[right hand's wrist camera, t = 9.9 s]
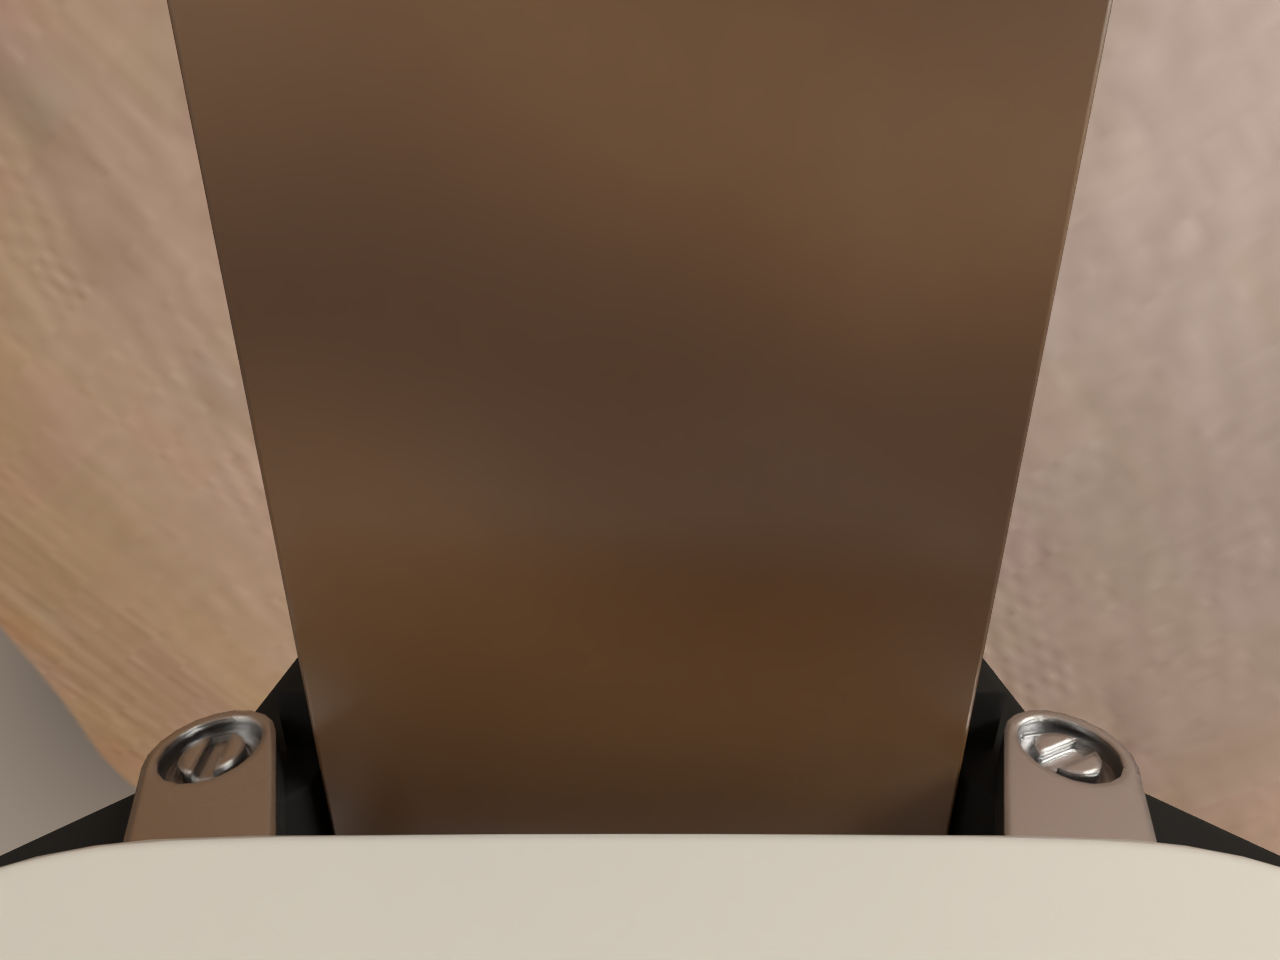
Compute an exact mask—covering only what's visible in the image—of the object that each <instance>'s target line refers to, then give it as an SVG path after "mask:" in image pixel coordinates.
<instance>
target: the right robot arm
mask: <svg viewBox="0 0 1280 960" xmlns="http://www.w3.org/2000/svg"><path fill="white" fill-rule="evenodd" d="M0 960H1280V856H1279V855H1277V854H1275V853H1272V852H1270V851H1268V850H1266V849H1264V848H1262V847H1259V846H1257V845H1255V844H1253V843H1251V842H1249V841H1247V840H1244V839H1242V838H1240V837H1238V836H1236V835H1234V834H1231V833H1229V832H1227V831H1225V830H1223V829H1221V828H1218V827H1216V826H1214V825H1212V824H1210V823H1208V822H1205V821H1203V820H1201V819H1199V818H1197V817H1195V816H1193V815H1190V814H1188V813H1186V812H1184V811H1182V810H1180V809H1177V808H1175V807H1173V806H1171V805H1169V804H1167V803H1164V802H1162V801H1160V800H1158V799H1156V798H1154V797H1152V796H1149V795H1147V794H1145V792H1144V788H1143V784H1142V780H1141V776H1140V772H1139V768H1138V766H1137V764H1136V762H1135V760H1134V758H1133V756H1132V754H1131V753H1130V752H1129V751H1128V750H1127V749H1126V748H1125V747H1124V746H1123V745H1122V744H1121V743H1120V742H1119V741H1118V740H1116V739H1115V738H1114V737H1112V736H1111V735H1109V734H1108V733H1107V732H1105V731H1104V730H1102V729H1100V728H1098V727H1096V726H1094V725H1092V724H1090V723H1088V722H1086V721H1084V720H1081V719H1078V718H1075V717H1072V716H1069V715H1066V714H1062V713H1057V712H1051V711H1026V712H1025V711H1024V710H1023V709H1022V707H1021V706H1020V705H1019V703H1018V702H1017V701H1016V700H1015V698H1014V697H1013V696H1012V695H1011V693H1010V692H1009V691H1008V689H1007V688H1006V687H1005V686H1004V684H1003V683H1002V682H1001V680H1000V679H999V678H998V677H997V675H996V674H995V673H994V671H993V670H992V669H991V668H990V666H989V665H988V664H987V663H986V661H985V660H984V659H983V658H982V663H981V669H980V674H979V679H978V684H977V689H976V694H975V699H974V704H973V709H972V714H971V719H970V724H969V729H968V734H967V739H966V744H965V749H964V754H963V759H962V765H961V770H960V775H959V780H958V785H957V790H956V795H955V800H954V805H953V810H952V815H951V820H950V825H949V830H948V835H836V834H445V835H333V830H332V825H331V820H330V815H329V810H328V805H327V800H326V795H325V790H324V785H323V780H322V775H321V770H320V765H319V760H318V755H317V750H316V745H315V740H314V735H313V730H312V725H311V720H310V715H309V710H308V704H307V699H306V694H305V689H304V684H303V679H302V674H301V669H300V664H299V659H298V658H297V659H296V660H295V662H294V663H293V664H292V666H291V667H290V668H289V669H288V671H287V672H286V673H285V674H284V676H283V677H282V678H281V680H280V681H279V682H278V683H277V685H276V686H275V687H274V689H273V690H272V691H271V692H270V694H269V695H268V696H267V697H266V699H265V700H264V701H263V703H262V704H261V705H260V706H259V708H258V709H257V710H256V712H254V711H229V712H223V713H218V714H214V715H211V716H208V717H205V718H202V719H199V720H196V721H194V722H192V723H190V724H188V725H186V726H184V727H182V728H180V729H178V730H176V731H175V732H173V733H172V734H171V735H169V736H168V737H166V738H165V739H164V740H162V741H161V742H160V743H159V744H158V745H157V746H156V747H155V748H154V749H153V750H152V751H151V752H150V753H149V754H148V756H147V758H146V760H145V762H144V764H143V766H142V768H141V772H140V776H139V780H138V784H137V788H136V792H135V794H133V795H131V796H129V797H127V798H125V799H122V800H120V801H118V802H116V803H114V804H111V805H109V806H107V807H105V808H103V809H101V810H99V811H96V812H94V813H92V814H90V815H88V816H86V817H83V818H81V819H79V820H77V821H75V822H73V823H70V824H68V825H66V826H64V827H62V828H60V829H57V830H55V831H53V832H51V833H49V834H47V835H45V836H42V837H40V838H38V839H36V840H34V841H32V842H29V843H27V844H25V845H23V846H21V847H19V848H17V849H14V850H12V851H10V852H8V853H6V854H3V855H1V856H0Z"/></svg>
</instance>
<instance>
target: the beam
mask: <svg viewBox="0 0 1280 960" xmlns="http://www.w3.org/2000/svg"><path fill="white" fill-rule="evenodd" d="M1112 2H1113V0H167V4H168V9H169V14H170V19H171V24H172V29H173V34H174V39H175V44H176V49H177V54H178V59H179V64H180V69H181V74H182V79H183V84H184V89H185V94H186V99H187V104H188V109H189V114H190V119H191V124H192V129H193V134H194V139H195V144H196V149H197V154H198V159H199V164H200V169H201V174H202V179H203V184H204V189H205V194H206V199H207V204H208V209H209V214H210V219H211V224H212V229H213V234H214V239H215V244H216V249H217V254H218V259H219V264H220V269H221V274H222V279H223V284H224V289H225V294H226V299H227V304H228V309H229V314H230V319H231V324H232V329H233V334H234V339H235V344H236V349H237V354H238V359H239V364H240V369H241V374H242V379H243V384H244V389H245V394H246V399H247V404H248V409H249V414H250V419H251V424H252V429H253V434H254V439H255V444H256V449H257V454H258V459H259V464H260V469H261V474H262V479H263V484H264V489H265V494H266V499H267V504H268V509H269V514H270V519H271V524H272V529H273V534H274V539H275V544H276V549H277V554H278V559H279V564H280V569H281V574H282V579H283V584H284V589H285V594H286V599H287V604H288V609H289V614H290V619H291V624H292V629H293V634H294V639H295V644H296V649H297V654H298V659H299V664H300V669H301V674H302V679H303V684H304V689H305V694H306V699H307V704H308V710H309V715H310V720H311V725H312V730H313V735H314V740H315V745H316V750H317V755H318V760H319V765H320V770H321V775H322V780H323V785H324V790H325V795H326V800H327V805H328V810H329V815H330V820H331V825H332V830H333V835H445V834H836V835H948V830H949V825H950V820H951V815H952V810H953V805H954V800H955V795H956V790H957V785H958V780H959V775H960V770H961V765H962V759H963V754H964V749H965V744H966V739H967V734H968V729H969V724H970V719H971V714H972V709H973V704H974V699H975V694H976V689H977V684H978V679H979V674H980V669H981V663H982V658H983V653H984V648H985V643H986V638H987V633H988V628H989V623H990V618H991V613H992V608H993V603H994V598H995V593H996V588H997V583H998V578H999V573H1000V567H1001V562H1002V557H1003V552H1004V547H1005V542H1006V537H1007V532H1008V527H1009V522H1010V517H1011V512H1012V507H1013V502H1014V497H1015V492H1016V487H1017V482H1018V477H1019V471H1020V466H1021V461H1022V456H1023V451H1024V446H1025V441H1026V436H1027V431H1028V426H1029V421H1030V416H1031V411H1032V406H1033V401H1034V396H1035V391H1036V386H1037V381H1038V375H1039V370H1040V365H1041V360H1042V355H1043V350H1044V345H1045V340H1046V335H1047V330H1048V325H1049V320H1050V315H1051V310H1052V305H1053V300H1054V295H1055V290H1056V285H1057V279H1058V274H1059V269H1060V264H1061V259H1062V254H1063V249H1064V244H1065V239H1066V234H1067V229H1068V224H1069V219H1070V214H1071V209H1072V204H1073V199H1074V194H1075V189H1076V183H1077V178H1078V173H1079V168H1080V163H1081V158H1082V153H1083V148H1084V143H1085V138H1086V133H1087V128H1088V123H1089V118H1090V113H1091V108H1092V103H1093V98H1094V93H1095V87H1096V82H1097V77H1098V72H1099V67H1100V62H1101V57H1102V52H1103V47H1104V42H1105V37H1106V32H1107V27H1108V22H1109V17H1110V12H1111V7H1112Z"/></svg>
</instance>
